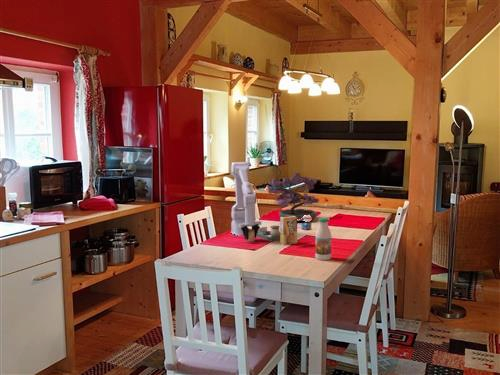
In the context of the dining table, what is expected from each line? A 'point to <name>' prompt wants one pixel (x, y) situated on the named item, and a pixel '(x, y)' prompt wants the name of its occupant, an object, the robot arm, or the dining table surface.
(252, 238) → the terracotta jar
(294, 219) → the candy box
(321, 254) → the milk bottle
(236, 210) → the robot arm
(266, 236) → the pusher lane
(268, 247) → the dining table surface
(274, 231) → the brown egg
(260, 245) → the dining table surface
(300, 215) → the bonsai tree
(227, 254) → the dining table surface
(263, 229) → the plate
